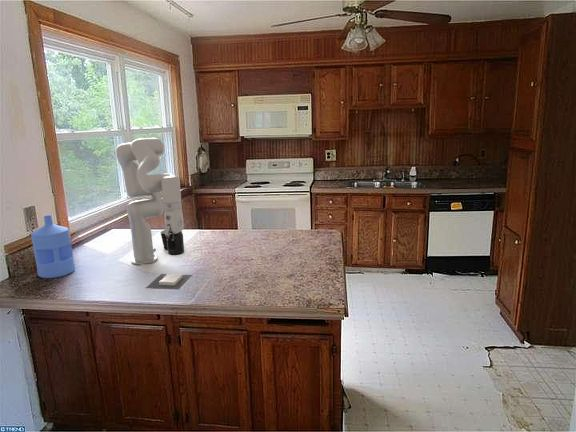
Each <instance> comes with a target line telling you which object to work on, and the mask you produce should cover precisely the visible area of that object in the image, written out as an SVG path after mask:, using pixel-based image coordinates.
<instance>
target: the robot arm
mask: <svg viewBox="0 0 576 432" xmlns="http://www.w3.org/2000/svg"><path fill="white" fill-rule="evenodd" d="M115 150H116V159H117V161H118V163H119V165H120V167H121V169H122V172H123V179H124V183H125V185H124V186H125V190H126V194H127V196H128V197H129V198H131V199H137V198H138V200H133V201H130V202H129V203H127V205H126V207H125V208H126V214H127V217H128V220H129V227H130V232H131V241H132V251H133V258H131V260H130V262H131V264H133V265H136V266H137V265H138V266H140V265H148V264H149V265H150V264H152V263H154V262H156V261H158V256H157V255H155V254H154V253H155V252H156V251H157V248H154V246H153V244H154V243H153V236H152V227H151V225H150V224H149V223H148V222H147V221H146V219H150V218H156V217H160V216H162V215H163V217H164V219H163V220H164V221H163V222H164V224H163V225H164V230H165V236H166V238H167V242H168V249H173V250H175V249H176V243H175V240H174V237H175V234H177V233H179V232H182V233H183V230H184V229H185V222H184V221H185V220H184V213H183V205H182V193H181V192H182V191H181V180H180V177H179V176H177V175H174V174H173V173H172V172H171V173H170V172H165V173H155V174H149V173H151V172H153V171H155V170H156V169H158V167H159V165H160V161H161V160H160V157H161V156H162V155H164V152H165V145H164V143H163V141H162V140H161V139H160V138H158V137H150V138H149V137H147V138H146V137H145V138H144V137H143V138H137V139H135V140H133V141H131V142H125V143H121V144H119V145H117V147H116V149H115ZM136 161H137V162H136ZM147 197H150V198H147ZM139 198H147V199H139ZM170 232H173V233H170ZM170 235H172V236H170Z"/></svg>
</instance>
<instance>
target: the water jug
mask: <svg viewBox="0 0 576 432" xmlns="http://www.w3.org/2000/svg"><path fill="white" fill-rule="evenodd" d="M52 216H53V215H45V216H43V219H44V225H42V226H41V227H38V228H37V229H36V230H33V231H32V232H31V233H30V235H31V236H30V237H31V238H30V239H31V243H32V248H33V254H34V255H33V256H34V260H35V262H36V263H35V264H36V268H37V269H36V271H37V272H36V273H37V276H38V277H40V278H43V279H55V278H60V277H63V276H67V275H69V274H71V273H73V272H74V271H75V269H76V266H75V262H74V261H75V260H74V255H73V254H74V253H73V252H74V251H73V248H72V242H71V234H70V230H69V228H68V227H67V226H61V225H58V224H55V223H53V218H52Z"/></svg>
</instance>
